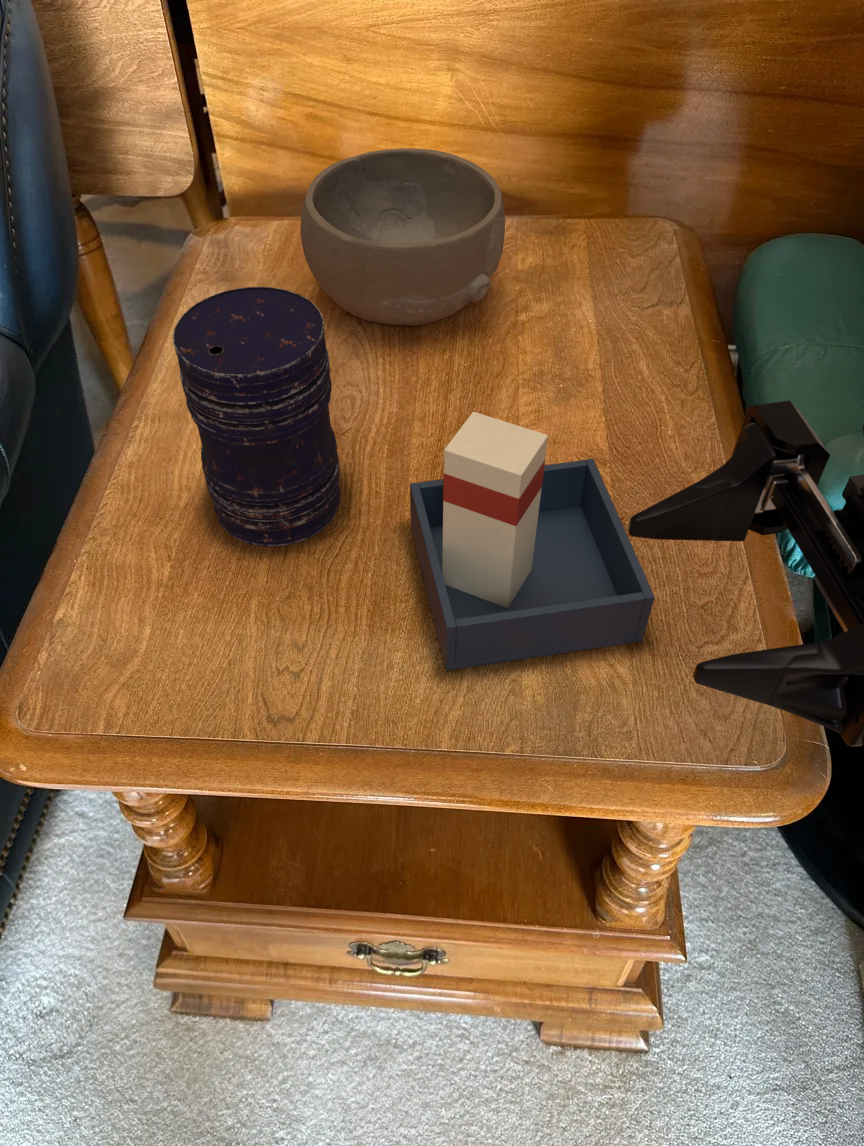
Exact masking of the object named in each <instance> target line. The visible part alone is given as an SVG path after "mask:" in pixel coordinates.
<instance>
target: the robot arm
mask: <svg viewBox="0 0 864 1146" xmlns="http://www.w3.org/2000/svg"><path fill="white" fill-rule="evenodd" d="M862 436H863V437H864V423H863V424H862ZM830 456H831V454H830V452H829V451H828V449H827V448H826V446H825V445H824V443H823V442H822V440H821V439H820V437H819V436H818V434H817V433H816V432H815V430H814V428H813V426H812V425H811V424H810V423H809V421H808V419H807V418H806V417H805V415H804V414H803V412H802V411H801V410H800V409H799V408H798V407H797V406H796V405H795V404H794V403H793V402H792V401H791V400H783V401H777V402H776V401H775V402H769V403H761V404H754V405H751V406H748V407H747V410H746V413H745V415H744V418H743V423H742V424H741V428H740V431H739V433H738V435H737V438H736V442H735V445H734V447H733V450H732V454H731V456H730V458H729V459H728V460H727V461H726V462H725V463H724V464H723V465H721V466H720V467H719V468H717V469H715V470H714V471H712V472H710V473H709V474H708V475H706V476H705V477H703V478H702V479H700V480H698V481H696V482H694V483H692V484H691V485H689V486H687V487H684V488H683V489H681V490H679V491H677V492H675V493H674V494H671V495H669V496H668V497H665V498H664V499H662V500H660V501H658V502H656V503H654V504H653V505H651V506H648V507H647V508H645V509H643V510H641V511H639V512H637V513H635V514H633V515H632V516H631V517H630V519H629V523H628V527H627V532H628V534H629V536H631V537H633V538H641V539H649V540H657V541H659V540H660V541H664V540H665V541H703V542H706V541H707V542H710V541H711V542H745V541H746V537H747V535H748V533H749V531H751V532H754V533H756V534H758V535H760V536H770V535H775V534H782V533H784V532H785V531H787V530H788V531H789V533H790V535H791V537H792V538H793V540H794V542H795V544H796V545H797V547H798V548H799V550H800V552H801V553H802V555H803V557H804V559H805V560H806V562H807V564H808V565H809V568H810V569H811V570H812V572H813V574H814V582H815V584H816V586H817V587H818V589H819V592H821V594H822V596H823V597H824V599H825V601H826V603H827V605H828V606H829V609H830V610H831V612H832V613H833V614H834V616H835V618H836V620H837V621H838V623H839V625H840V627H841V628H842V630H843V632H842V633H840V634H838V635H836V636H834V637H832V638H829V639H826V640H823V641H817V642H809V643H802V644H795V645H794V644H793V645H788V646H782V647H781V646H780V647H776V648H774V647H773V648H768V649H761V650H753V651H747V652H739V653H733V654H727V655H724V656H720V657H716V658H712V659H709V660H703V661H701V662H699V663H697V664H696V666H695V669H694V671H693V674H692V678H693V681H694V682H695V684H697V685H699V686H703V687H706V688H710V689H713V690H717V691H720V692H723V693H726V694H730V695H732V696H737V697H740V698H743V699H747V700H750V701H753V702H756V703H758V704H759V703H760V704H763V705H767V706H768V707H772V708H774V709H778V710H781V711H784V712H786V713H789V714H791V715H795V716H796V717H799V718H802V719H804V720H807V721H809V722H812V723H814V724H816V725H819V726H822V727H824V728H825V729H829V730H832V731H834V732H836V733H838V734H839V735H840V736H841V738H842V740H843V741H844V743H845V744H846V745H847V746H849V747H861V746H864V474H857V475H850V476H849V477H848V479H847V482H846V483H845V485H844V486H845V487H844V488H843V491H842V493H841V496H842V498H843V500H844V501H845V503H844V504H843V507H842V508H839V509H834V510H832V508H831V506H830V505H829V504H828V501H827V500H826V499H825V497H824V495H823V494H822V493H821V491H820V490H819V487H818V484H819V482H820V480H821V478H822V476H823V473H824V471H825V468H826V466H827V464H828V462H829V459H830V458H831V457H830Z"/></svg>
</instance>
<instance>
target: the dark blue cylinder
mask: <svg viewBox="0 0 864 1146" xmlns="http://www.w3.org/2000/svg"><path fill="white" fill-rule="evenodd" d="M172 340H173V341H172V343H173V346H174V350H175V353H176V357H177V363H178V367H179V377H180V382H181V385H182V390H183V393H184V396H185V404H186V407H187V410H188V412H189V414H190V415H191V419H192V420H193V422H194V424H195V425H196V426H197V430H198V431H197V432H198V435H199V439H200V443H201V449H200V459H201V467H202V472H203V474H204V475H203V476H204V480H205V484H206V487H207V491H208V494H209V496H210V498H211V501H212V504H213V511H214V514H215V517H216V520H217V522H218V523H219V525H220V527H221V528H222V529H223V530H224V531H225V532H226V533H227V534H228V535H230V536H231V537H232V538H235V539H236V540H238V541H240V542H243V543H246V544H249V545H254V546H259V547H283V546H288V545H292V544H296V543H300V542H303V541H306V540H308V539H310V538H313V537H314V536H316V535H317V534H320V532H322V531H323V530H324V529H326V527H327V526H329V525H330V524H331V522H332V521H333V520H334V518H335V517H336V515H337V514H338V511H339V509H340V506H341V500H342V499H341V498H342V493H341V487H340V474H341V473H340V472H341V468H340V459H339V458H340V457H339V453H338V443H337V439H336V433H335V430H334V429H333V426H332V425H331V416H330V415H331V414H330V402H331V399H332V398H331V396H332V385H333V383H332V379H331V365H330V355H329V351H328V349H327V342H326V331H325V322H324V317H323V315H322V312H321V310H320V309H319V307H318V306H317V305H316V304H315V303H313V302H312V301H311V300H310V299H308V297H307V298H306V297H305V296H304V295H302V294H300V293H297V292H294V291H293V290H288V289H284V288H279V287H273V286H247V287H237V288H233V289H229V290H225V291H221V292H218V293H215V294H213V295H211V296H208V297H206V298H204V299H202V300H200V301H198V302H197V303H195V304H194V305H192V306H191V307H189V308H188V309H187V310H186V311H185V312H184V313H183V314H182V315H181V316H180V318H179V319H178V320H177V322H176V324H175V326H174V329H173V333H172Z"/></svg>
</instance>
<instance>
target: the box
mask: <svg viewBox="0 0 864 1146" xmlns="http://www.w3.org/2000/svg"><path fill="white" fill-rule="evenodd" d="M443 479H444V478H441V479H435V480H434V479H433V480H425V481H419V482H411V483H409V503H410V504H409V506H410V509H409V511H410V530H411V535H412V540H413V543H414V548H415V552H416V555H417V560H418V563H419V568H420V571H421V576H422V580H423V584H424V587H425V592H426V596H427V600H428V604H429V608H430V612H431V615H432V620H433V624H434V629H435V632H436V636H437V640H438V644H439V649H440V653H441V656H442V657H441V658H442V660H443V664H444V668H445V671H446V672H448V671H454V670H460V669H467V668H474V667H481V666H489V665H496V664H500V663H507V662H514V661H521V660H528V659H534V658H540V657H547V656H556V655H562V654H567V653H568V654H569V653H575V652H581V651H588V650H595V649H600V648H608V647H613V646H615V647H616V646H621V645H628V644H634V643H635V644H636V643H641V642H643V640H644V636H645V633H646V630H647V626H648V623H649V620H650V616H651V612H652V609H653V606H654V602H655V598H656V597H655V594H654V591H653V590H652V587H651V585H650V583H649V581H648V579H647V576H646V573H645V572H644V570H643V567H642V565H641V563H640V560H639V557H638V555H637V554H636V551H635V549H634V547H633V545H632V543H631V540H630V538H629V536H628V534H627V531H626V529H625V527H624V524H623V522H622V520H621V518H620V516H619V513H618V511H617V509H616V507H615V504H614V502H613V499H612V498H611V495H610V494H609V491H608V488H607V486H606V484H605V482H604V479H603V477H602V475H601V473H600V471H599V468H598V466H597V464H596V462H595V459H594V458H588V459H580V460H573V461H565V462H559V463H558V462H557V463H551V464H545V467H544V475H543V483H542V489H541V497H540V505H539V513H538V521H537V529H536V537H535V545H534V553H533V561H532V569H531V571H530V573H529V575H528V576H527V578H526V580H525V581H524V583H523V584H522V586H521V588H520V589H519V591H518V593H517V594H516V596H515V598H514V599H513V601H512V602H511V604H510V606H509V607H508V608H505V607H502V606H499V605H497V604H494V603H492V602H489V601H486V600H484V599H481V598H479V597H476V596H473V595H471V594H468V593H465V592H463V591H460V590H458V589H455V588H452V587H450V586H447V585H445V582H444V578H443V574H442V551H443Z"/></svg>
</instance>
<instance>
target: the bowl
mask: <svg viewBox="0 0 864 1146" xmlns="http://www.w3.org/2000/svg"><path fill="white" fill-rule="evenodd" d="M299 233H300V241H301V246H302V251H303V255H304V259H305V260H306V263H307V266H308V268H309V270H310V273H311V274H312V276H313V278H314V281H316V283H317V284H318V285H319V287H320V288H321V289H322V291H323V292H324V293H325V294H326V295H327V296H328V297H329V298H330V299H331V300H332V301H333V302H334V303H335V304H336V305H338V306H339V307H340V308H341V309H342V310H344V311H345V312H347V313H349V314H350V315H352V316H354V317H356V318H359V319H361V320H363V321H366V322H367V321H368V322H371V323H376V324H382V325H383V324H384V325H391V326H420V325H421V326H422V325H426V324H429V323H430V324H431V323H435V322H437V321H440V320H442V319H445V318H448V317H449V318H450V317H451V316H453V315H455V314H456V313H457V312H459V311H460V310H461V309H463V308H465V307H466V306H467V305H468V304H470V303H477V302H479V301H482V300H483V299H484V298H485V296H486V295H487V293H488V291H489V289H490V287H491V284H492V280H491V278H492V276H493V275H494V274H495V272H496V271H497V269H498V268H499V265H500V261H501V257H502V256H503V253H504V245H505V243H504V242H505V235H506V214H505V203H504V200H503V195H502V192H501V188H500V186H499V184H498V183H497V181H496V179H495V178H494V177H493V176H492V175H491V173H489V172H487V171H486V170H485V169H484V168H483V167H481V166H479V165H477V163H475V162H473V161H471V160H469V159H466V158H463V157H460V156H459V155H457V154H454V153H451V152H446V151H441V150H435V149H427V148H416V147H415V148H411V147H406V148H405V147H403V148H400V147H399V148H390V149H379V150H374V151H367V152H364V153H360V154H356V155H355V156H352V157H347V158H344V159H342V160H341V159H340V160H338V161H336V162H334V163H332V164H330V165H328V166H327V167H325V168H324V169H323V170H321V171H320V172H319V173H318V174H317V175H316V176H315V177H314V178H313V179H312V181H311V182H310V185H309V187H308V188H307V192H306V194H305V196H304V200H303V204H302V207H301V214H300V232H299Z"/></svg>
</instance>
